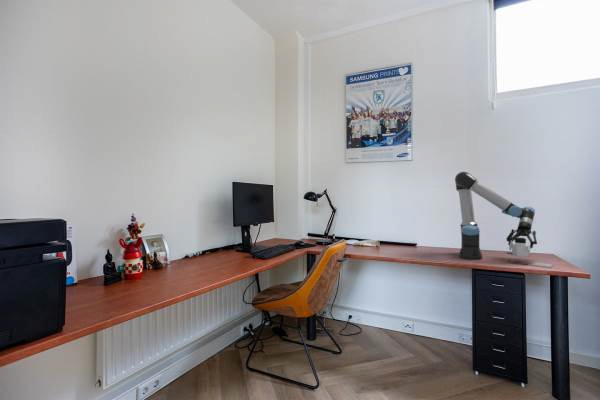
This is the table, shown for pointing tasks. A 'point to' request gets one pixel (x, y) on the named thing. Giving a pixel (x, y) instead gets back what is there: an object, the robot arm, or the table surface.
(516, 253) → the medicine bottle
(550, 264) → the grey mat
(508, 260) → the walnut stop
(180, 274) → the table surface
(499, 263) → the table surface
